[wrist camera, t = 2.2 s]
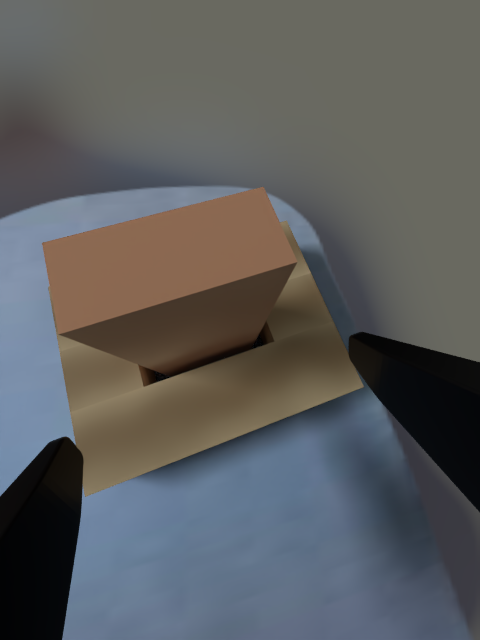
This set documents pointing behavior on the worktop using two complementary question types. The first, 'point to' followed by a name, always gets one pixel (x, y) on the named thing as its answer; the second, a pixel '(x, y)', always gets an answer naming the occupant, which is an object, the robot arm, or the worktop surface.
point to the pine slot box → (204, 389)
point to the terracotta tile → (173, 282)
